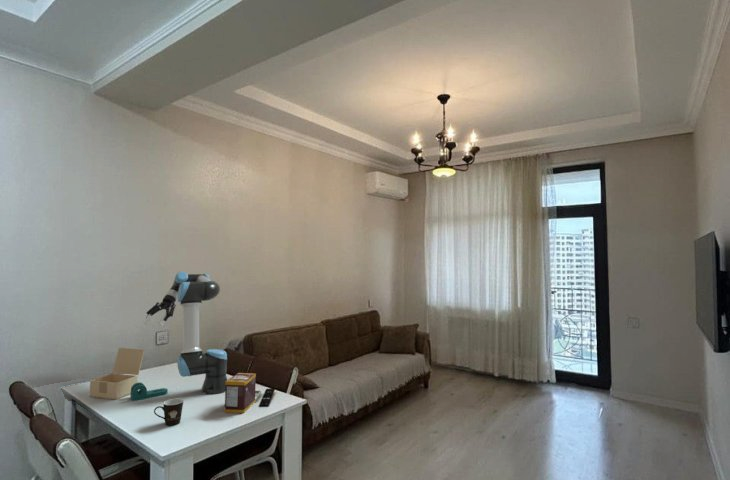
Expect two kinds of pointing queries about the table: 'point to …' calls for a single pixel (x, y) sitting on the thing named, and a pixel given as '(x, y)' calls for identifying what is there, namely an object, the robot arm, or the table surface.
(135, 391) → the bracket
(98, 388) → the carton
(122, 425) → the table surface
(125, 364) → the carton lid
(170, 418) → the coffee mug
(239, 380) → the supplement box
